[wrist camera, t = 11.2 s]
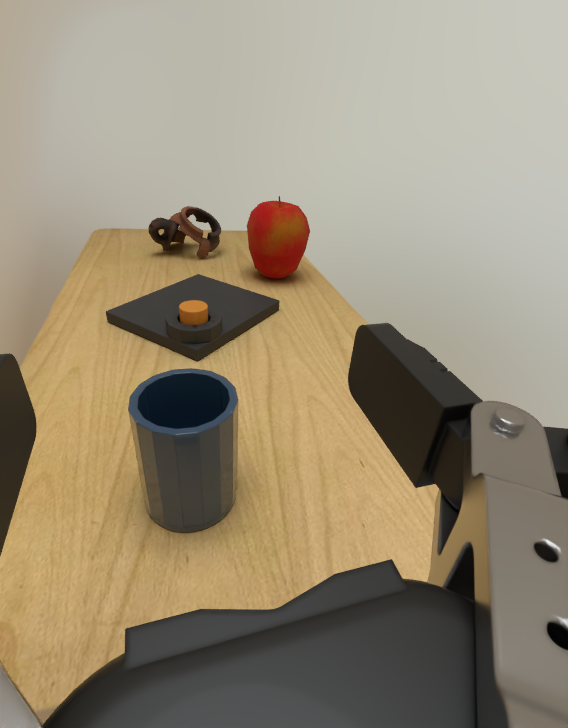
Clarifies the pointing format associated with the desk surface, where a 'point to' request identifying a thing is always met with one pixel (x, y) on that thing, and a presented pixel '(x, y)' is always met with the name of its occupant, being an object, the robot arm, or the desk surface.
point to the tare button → (193, 312)
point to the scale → (162, 325)
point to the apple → (277, 238)
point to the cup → (186, 447)
